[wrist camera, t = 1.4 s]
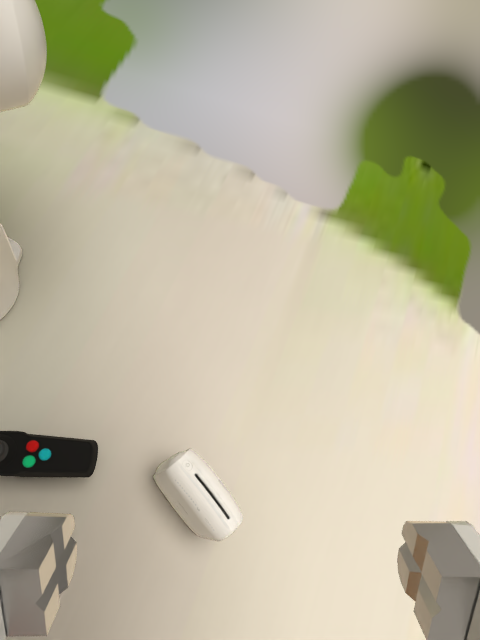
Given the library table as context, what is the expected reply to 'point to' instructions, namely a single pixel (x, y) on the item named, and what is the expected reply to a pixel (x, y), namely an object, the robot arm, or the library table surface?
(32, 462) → the controller
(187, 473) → the photo printer
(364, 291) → the library table surface
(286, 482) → the library table surface
